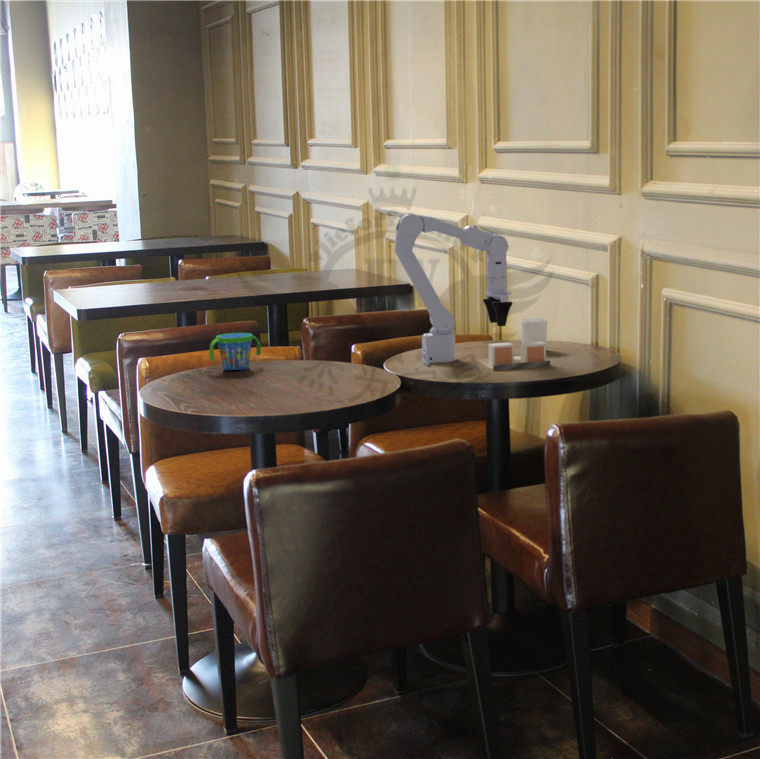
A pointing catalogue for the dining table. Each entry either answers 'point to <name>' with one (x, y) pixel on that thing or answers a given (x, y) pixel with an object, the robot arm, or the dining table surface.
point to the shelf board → (515, 364)
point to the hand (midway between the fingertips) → (497, 324)
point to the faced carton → (533, 351)
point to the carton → (501, 353)
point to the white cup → (534, 330)
